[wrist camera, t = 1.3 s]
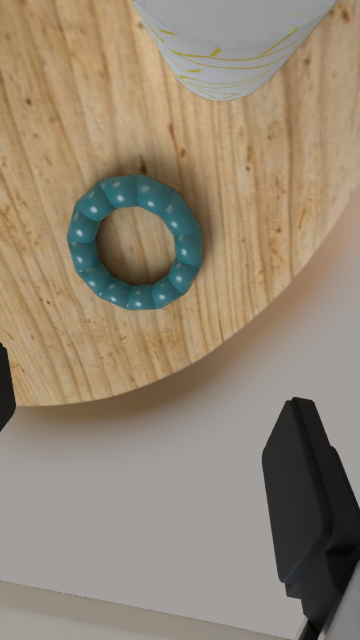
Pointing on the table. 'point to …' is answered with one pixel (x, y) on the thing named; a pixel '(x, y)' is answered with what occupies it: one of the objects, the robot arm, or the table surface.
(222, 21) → the grey cylinder
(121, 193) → the ring
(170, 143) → the table surface
